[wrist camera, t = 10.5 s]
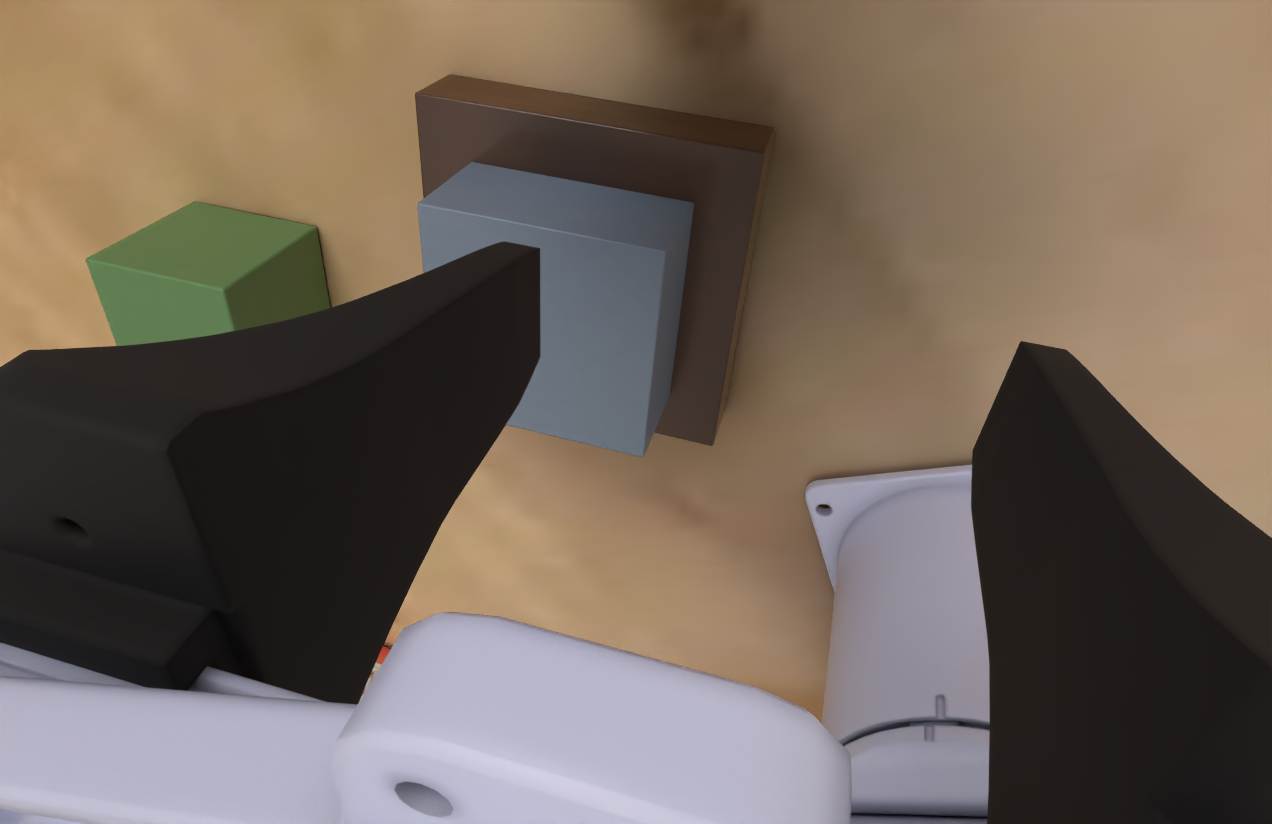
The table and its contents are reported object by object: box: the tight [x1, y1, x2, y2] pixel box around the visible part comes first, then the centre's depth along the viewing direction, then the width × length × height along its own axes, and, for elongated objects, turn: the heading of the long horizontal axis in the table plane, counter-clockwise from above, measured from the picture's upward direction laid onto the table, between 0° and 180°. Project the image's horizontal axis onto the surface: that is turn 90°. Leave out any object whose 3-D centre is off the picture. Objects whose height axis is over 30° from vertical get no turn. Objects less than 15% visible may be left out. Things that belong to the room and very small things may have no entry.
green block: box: [86, 202, 330, 346], centre depth 26 cm, size 5×5×5 cm
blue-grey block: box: [418, 162, 694, 457], centre depth 21 cm, size 6×6×3 cm
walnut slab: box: [415, 75, 775, 446], centre depth 23 cm, size 9×9×2 cm
